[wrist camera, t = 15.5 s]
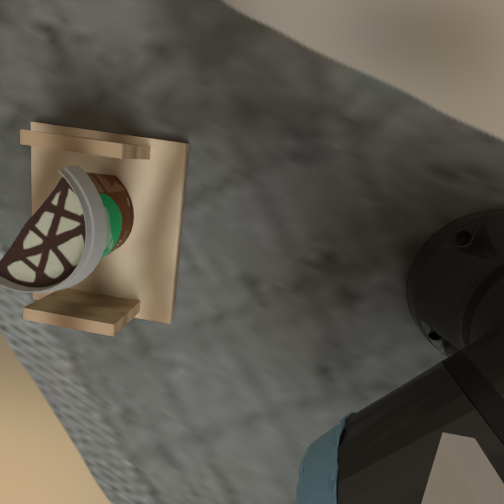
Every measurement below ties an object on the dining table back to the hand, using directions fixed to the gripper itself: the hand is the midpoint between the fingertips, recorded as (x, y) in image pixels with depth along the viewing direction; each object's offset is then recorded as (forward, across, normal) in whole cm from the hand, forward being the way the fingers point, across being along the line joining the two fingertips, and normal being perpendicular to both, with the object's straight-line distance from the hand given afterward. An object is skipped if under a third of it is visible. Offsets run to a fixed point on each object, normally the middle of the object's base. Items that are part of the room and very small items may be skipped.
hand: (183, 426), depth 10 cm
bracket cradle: (+29, +17, +2) cm, 33 cm away
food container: (+28, +16, +2) cm, 32 cm away
